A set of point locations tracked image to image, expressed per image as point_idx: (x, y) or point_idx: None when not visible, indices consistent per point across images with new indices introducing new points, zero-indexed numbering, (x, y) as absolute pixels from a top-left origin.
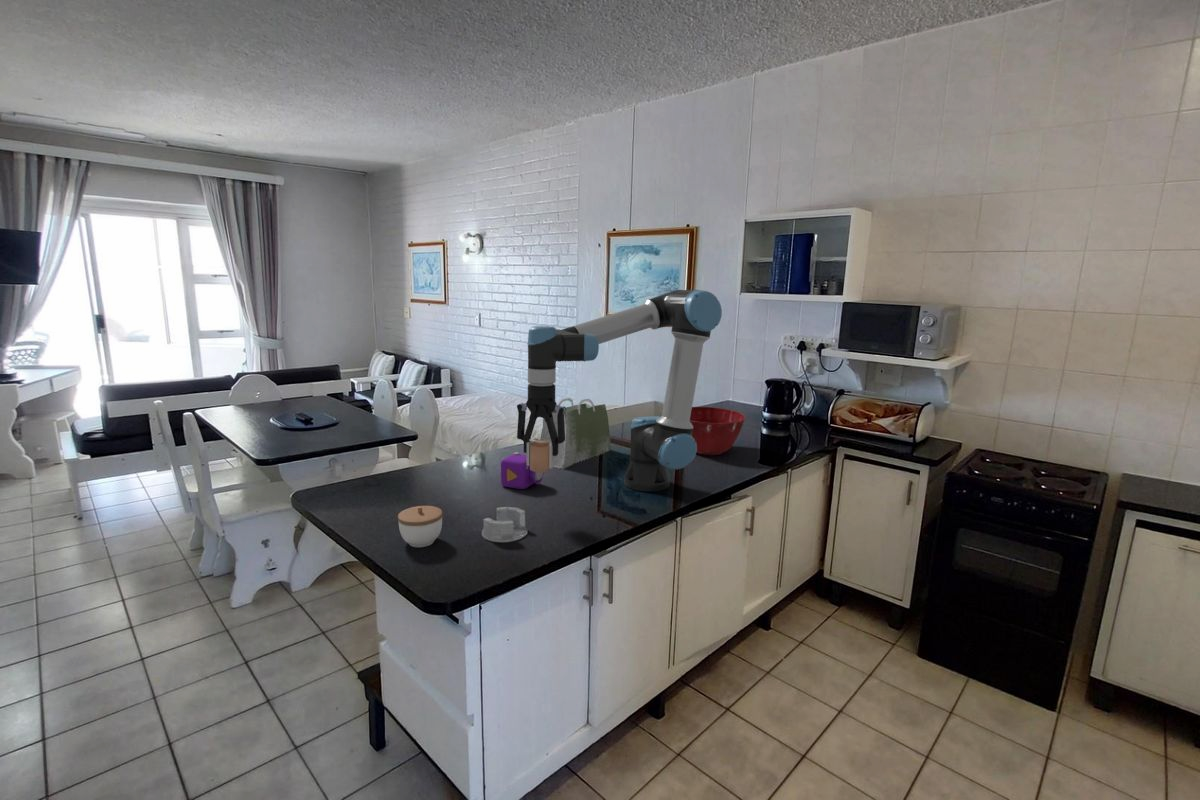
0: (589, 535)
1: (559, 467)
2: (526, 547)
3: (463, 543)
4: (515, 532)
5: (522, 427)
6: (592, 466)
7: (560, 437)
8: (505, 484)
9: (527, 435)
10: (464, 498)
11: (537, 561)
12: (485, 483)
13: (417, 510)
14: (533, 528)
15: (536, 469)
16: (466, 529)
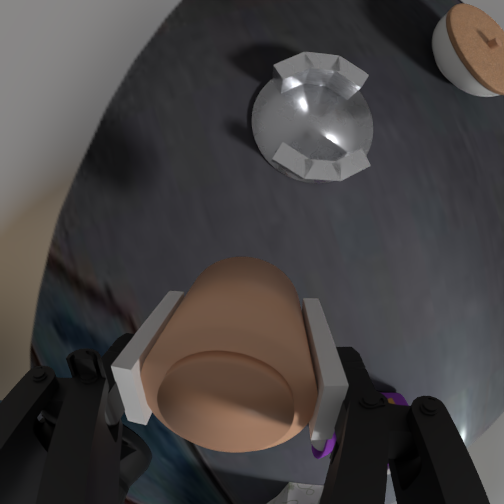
0: (103, 174)
1: (297, 484)
2: (226, 63)
3: (380, 57)
4: (282, 119)
5: (428, 495)
6: (238, 494)
7: (21, 394)
8: (393, 394)
9: (356, 439)
10: (462, 307)
11: (181, 21)
12: (431, 391)
13: (502, 59)
14: (248, 169)
15: (245, 261)
16: (410, 128)
